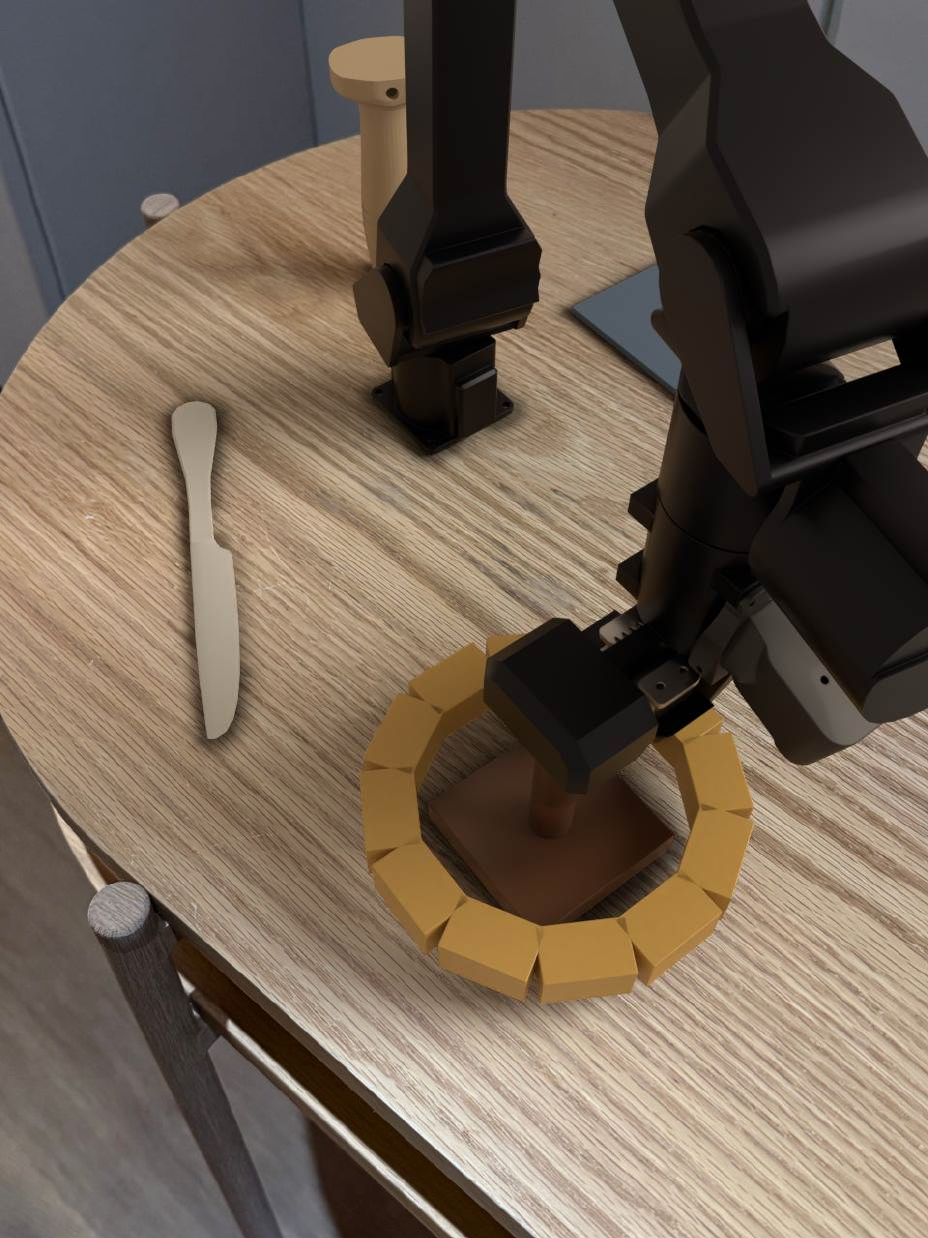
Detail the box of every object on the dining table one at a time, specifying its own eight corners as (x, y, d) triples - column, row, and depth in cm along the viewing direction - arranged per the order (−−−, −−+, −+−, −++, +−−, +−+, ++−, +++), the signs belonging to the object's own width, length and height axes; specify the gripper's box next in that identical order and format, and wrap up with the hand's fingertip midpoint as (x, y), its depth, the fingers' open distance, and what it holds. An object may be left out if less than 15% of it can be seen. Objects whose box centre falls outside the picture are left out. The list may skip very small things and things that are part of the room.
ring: (294, 780, 53) (287, 755, 51) (573, 605, 59) (577, 576, 57) (522, 1087, 45) (525, 1070, 43) (818, 848, 51) (832, 824, 49)
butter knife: (218, 396, 70) (170, 402, 70) (247, 731, 56) (186, 740, 56) (219, 402, 70) (171, 408, 70) (248, 735, 56) (188, 745, 56)
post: (428, 817, 54) (424, 735, 48) (559, 729, 57) (571, 641, 51) (535, 950, 50) (546, 880, 44) (670, 848, 53) (697, 769, 47)
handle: (449, 292, 77) (447, 73, 65) (354, 304, 76) (334, 85, 64) (436, 248, 79) (432, 31, 67) (344, 259, 79) (323, 42, 67)
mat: (570, 312, 75) (571, 306, 75) (702, 245, 80) (703, 239, 79) (697, 414, 70) (699, 408, 69) (832, 336, 74) (834, 330, 74)
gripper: (707, 795, 34) (639, 976, 46) (1089, 510, 40) (939, 736, 53) (477, 560, 39) (472, 780, 52) (849, 342, 46) (765, 584, 58)
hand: (671, 720), depth 53 cm, fingers closed on ring, 2 cm apart
